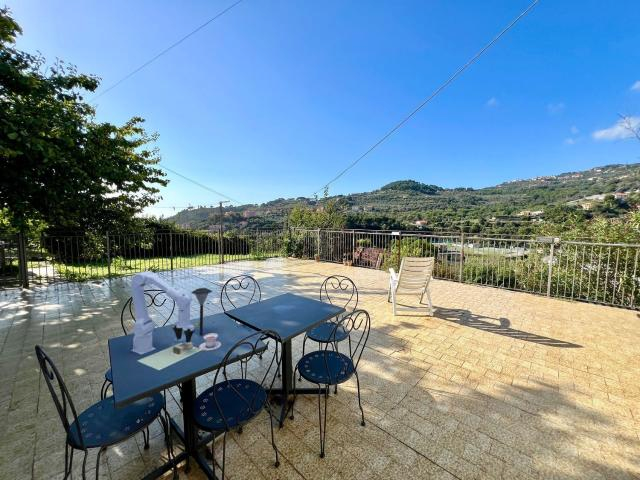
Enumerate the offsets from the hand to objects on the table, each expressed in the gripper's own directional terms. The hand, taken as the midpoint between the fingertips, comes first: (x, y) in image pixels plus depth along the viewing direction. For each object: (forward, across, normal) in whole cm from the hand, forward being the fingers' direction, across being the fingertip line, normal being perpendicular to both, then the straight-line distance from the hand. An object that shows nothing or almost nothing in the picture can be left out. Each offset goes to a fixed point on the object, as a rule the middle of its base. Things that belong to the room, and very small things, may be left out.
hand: (183, 340), depth 147 cm
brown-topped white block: (+6, 0, 0) cm, 6 cm away
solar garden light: (+6, -10, +20) cm, 23 cm away
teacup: (+6, +7, +12) cm, 16 cm away
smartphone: (+7, -27, +26) cm, 38 cm away
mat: (+6, -1, -6) cm, 9 cm away
